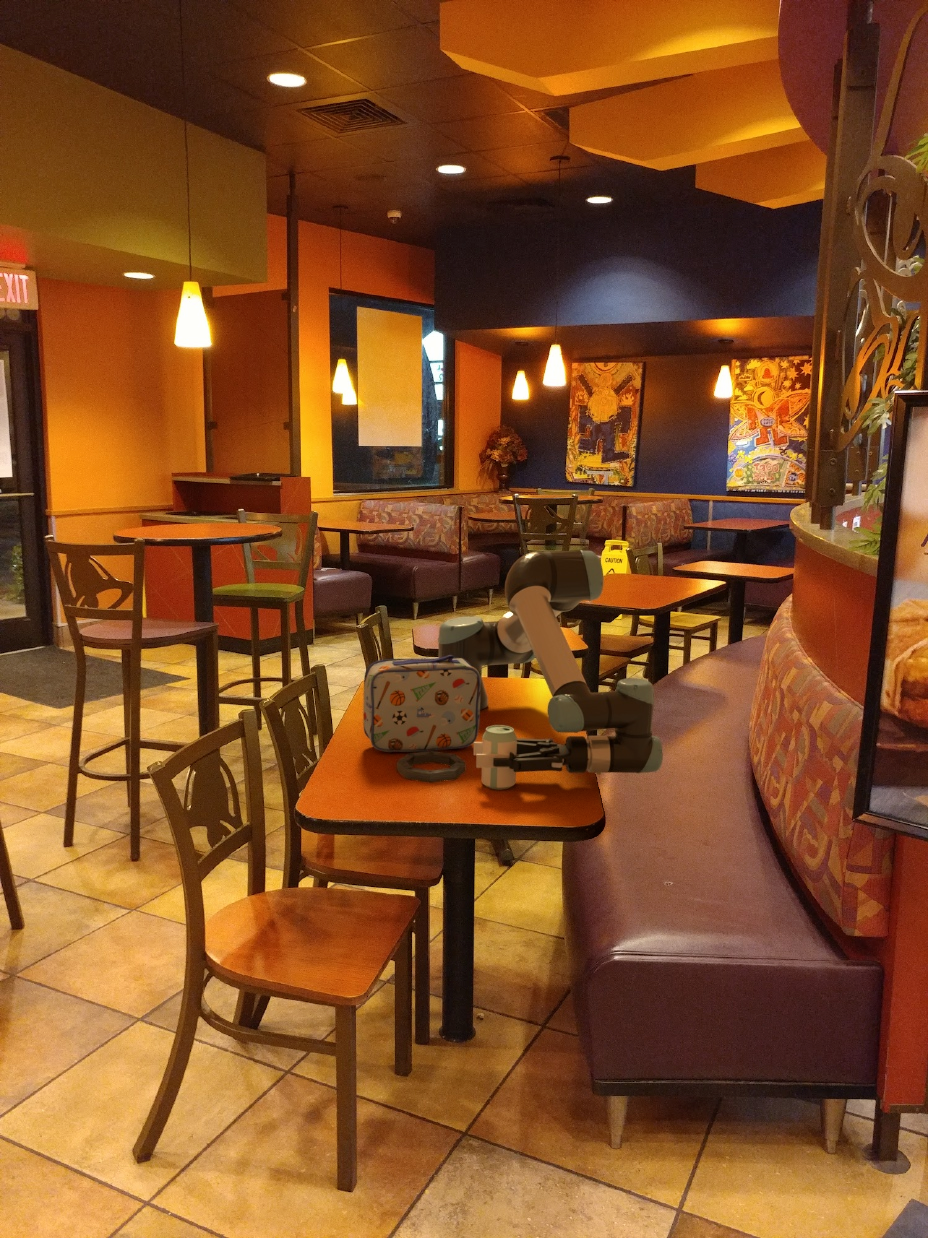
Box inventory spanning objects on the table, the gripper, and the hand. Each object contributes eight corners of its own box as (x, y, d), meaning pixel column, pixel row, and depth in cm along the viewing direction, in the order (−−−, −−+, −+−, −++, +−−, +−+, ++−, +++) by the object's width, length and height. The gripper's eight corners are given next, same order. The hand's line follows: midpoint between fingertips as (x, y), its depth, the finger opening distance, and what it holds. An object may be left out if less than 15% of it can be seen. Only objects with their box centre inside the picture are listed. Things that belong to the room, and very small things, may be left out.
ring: (415, 757, 215) (415, 748, 214) (472, 765, 210) (472, 756, 210) (388, 776, 202) (388, 767, 202) (448, 785, 197) (448, 776, 197)
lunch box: (474, 737, 230) (476, 647, 226) (487, 750, 221) (489, 656, 216) (360, 744, 223) (360, 651, 219) (368, 758, 213) (368, 662, 209)
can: (488, 777, 203) (489, 722, 201) (519, 781, 200) (521, 726, 198) (476, 787, 197) (477, 731, 194) (509, 793, 194) (510, 735, 192)
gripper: (594, 789, 189) (478, 789, 188) (576, 756, 209) (471, 756, 207) (596, 752, 188) (479, 752, 187) (578, 723, 208) (472, 722, 206)
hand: (475, 754), depth 197 cm, fingers closed on can, 7 cm apart
